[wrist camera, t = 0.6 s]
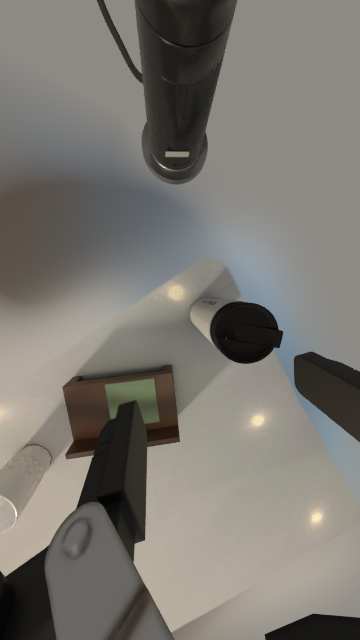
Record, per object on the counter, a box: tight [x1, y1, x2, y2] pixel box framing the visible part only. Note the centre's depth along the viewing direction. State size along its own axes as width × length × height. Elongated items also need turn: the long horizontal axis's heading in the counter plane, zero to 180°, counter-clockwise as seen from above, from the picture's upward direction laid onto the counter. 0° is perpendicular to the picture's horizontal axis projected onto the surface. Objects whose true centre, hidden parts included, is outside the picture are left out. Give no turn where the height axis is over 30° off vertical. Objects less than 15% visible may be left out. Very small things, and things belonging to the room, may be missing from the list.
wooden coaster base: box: [63, 365, 180, 459], centre depth 35 cm, size 12×20×7 cm, turn 96°
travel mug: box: [190, 298, 283, 364], centre depth 27 cm, size 6×7×20 cm
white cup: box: [0, 445, 51, 534], centre depth 34 cm, size 8×8×10 cm
